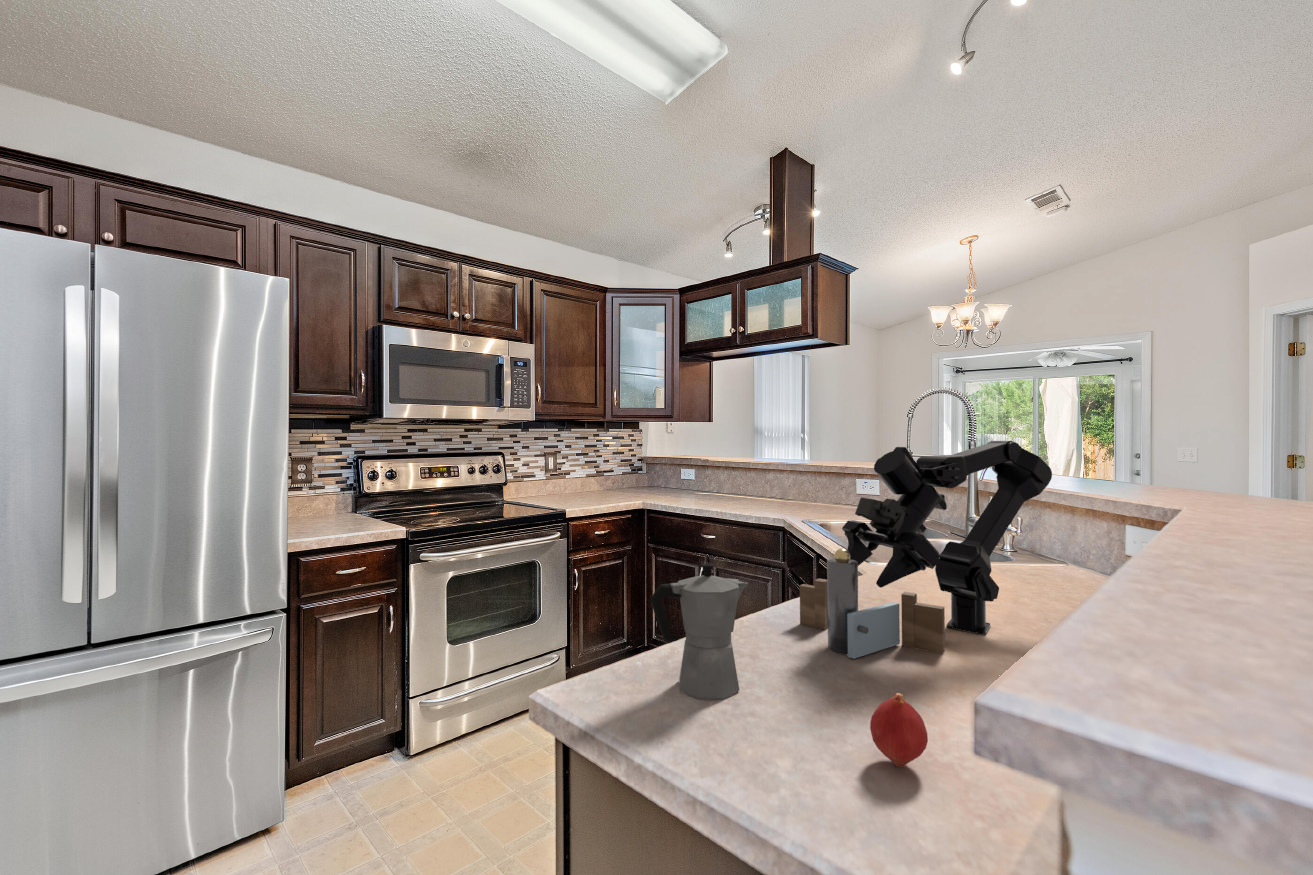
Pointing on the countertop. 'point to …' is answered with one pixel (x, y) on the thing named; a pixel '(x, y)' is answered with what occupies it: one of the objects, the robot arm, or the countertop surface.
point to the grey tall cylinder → (841, 598)
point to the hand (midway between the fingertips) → (859, 579)
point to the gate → (873, 629)
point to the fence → (918, 619)
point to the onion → (898, 731)
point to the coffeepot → (704, 632)
